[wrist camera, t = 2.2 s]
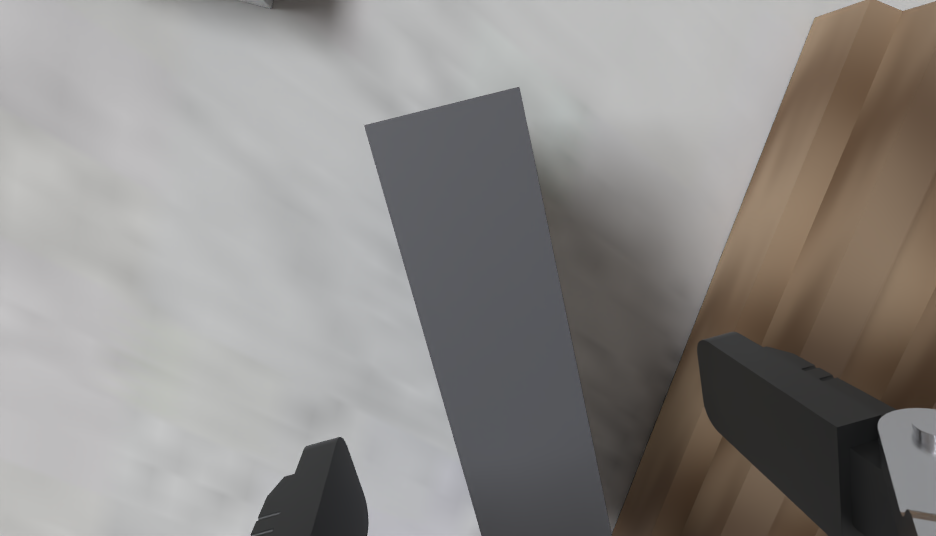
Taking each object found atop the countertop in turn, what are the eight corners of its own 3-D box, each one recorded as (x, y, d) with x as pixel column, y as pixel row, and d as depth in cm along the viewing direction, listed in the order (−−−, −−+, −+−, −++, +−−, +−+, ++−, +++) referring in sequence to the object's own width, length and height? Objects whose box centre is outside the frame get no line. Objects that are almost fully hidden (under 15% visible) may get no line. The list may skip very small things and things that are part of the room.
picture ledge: (782, 610, 21) (852, 696, 18) (593, 580, 20) (631, 668, 16) (1029, 102, 17) (1181, 89, 14) (814, 18, 16) (925, -21, 12)
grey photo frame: (553, 489, 19) (651, 723, 11) (490, 508, 19) (545, 757, 11) (467, 122, 15) (520, 86, 8) (389, 141, 15) (363, 125, 8)
